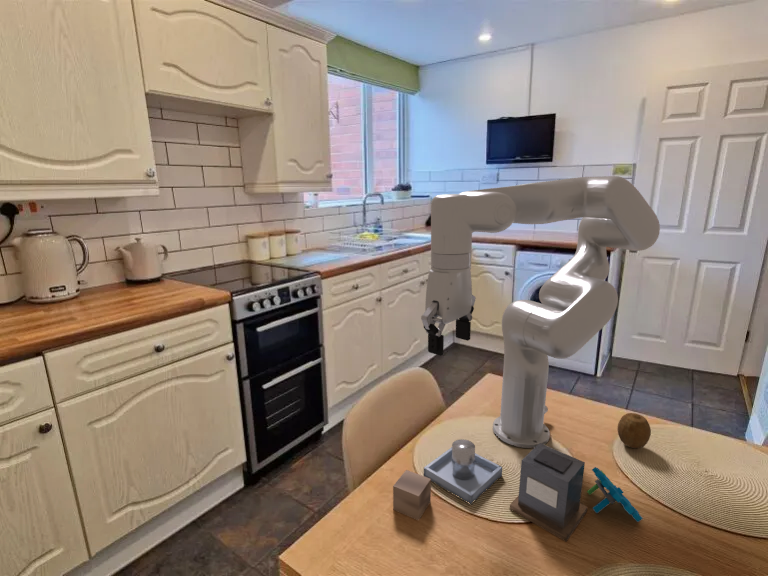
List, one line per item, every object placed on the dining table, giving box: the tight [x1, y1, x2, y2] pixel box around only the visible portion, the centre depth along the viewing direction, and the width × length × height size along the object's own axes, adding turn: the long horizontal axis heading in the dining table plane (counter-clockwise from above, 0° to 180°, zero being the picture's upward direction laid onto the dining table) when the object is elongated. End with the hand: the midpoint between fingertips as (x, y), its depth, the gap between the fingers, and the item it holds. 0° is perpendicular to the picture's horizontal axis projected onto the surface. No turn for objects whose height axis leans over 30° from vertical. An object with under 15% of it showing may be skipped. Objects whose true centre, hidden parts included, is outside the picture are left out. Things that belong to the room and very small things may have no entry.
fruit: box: [617, 412, 652, 449], centre depth 91 cm, size 6×6×8 cm
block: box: [392, 469, 432, 521], centre depth 75 cm, size 5×5×5 cm
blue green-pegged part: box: [586, 466, 644, 523], centre depth 73 cm, size 11×6×10 cm
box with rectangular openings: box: [509, 443, 588, 542], centre depth 73 cm, size 9×10×10 cm
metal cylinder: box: [451, 438, 476, 480], centre depth 82 cm, size 4×4×6 cm
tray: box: [423, 446, 503, 505], centre depth 83 cm, size 11×11×2 cm
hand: (449, 345), depth 83 cm, fingers open, 9 cm apart
